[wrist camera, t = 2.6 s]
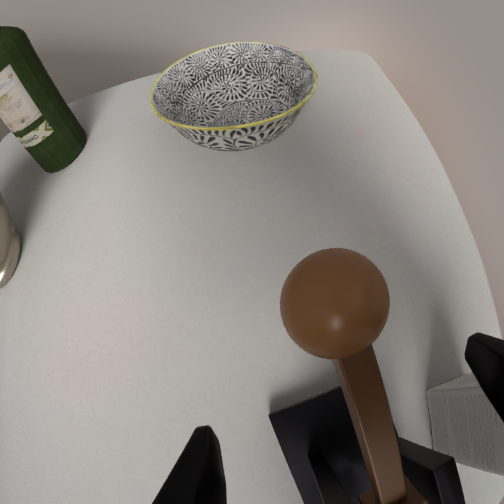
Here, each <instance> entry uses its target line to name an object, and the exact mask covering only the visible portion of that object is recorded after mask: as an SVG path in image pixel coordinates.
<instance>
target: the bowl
mask: <svg viewBox="0 0 504 504" xmlns="http://www.w3.org/2000/svg"><path fill="white" fill-rule="evenodd" d="M317 79H318V78H317V73H316V70H315V68H314V67H313V65H312V64H311V63H310V62H309V61H308V60H307V59H306V58H305V57H304V56H302V55H301V54H299V53H297V52H296V51H293V50H291V49H289V48H286V47H283V46H279V45H276V44H271V43H264V42H232V43H225V44H220V45H215V46H212V47H208V48H205V49H202V50H199V51H196V52H194V53H192V54H189V55H187V56H185V57H184V58H182V59H180V60H178V61H177V62H175V63H174V64H172V65H171V66H170V67H168V68H167V69H166V70H165V71H164V72H163V73H162V74H161V75H160V76H159V77H158V78H157V80H156V81H155V83H154V84H153V86H152V89H151V91H150V97H149V100H150V105H151V108H152V109H153V111H154V112H155V113H156V115H158V116H159V117H160V118H161V119H163V120H164V121H166V122H168V123H169V124H170V125H172V126H173V127H174V128H175V129H176V130H177V131H178V132H179V133H180V134H182V135H183V136H184V137H186V138H187V139H188V140H190V141H192V142H194V143H195V144H198V145H200V146H203V147H205V148H209V149H214V150H221V151H240V150H247V149H250V148H254V147H258V146H260V145H263V144H265V143H268V142H270V141H271V140H273V139H275V138H276V137H278V136H279V135H281V134H282V133H283V132H284V131H285V130H286V129H287V128H289V127H290V125H291V124H292V123H293V122H294V120H295V119H296V118H297V116H298V114H299V113H300V111H301V109H302V107H303V105H304V104H305V102H306V101H307V100H308V99H309V98H310V97H311V96H312V94H313V93H314V91H315V88H316V86H317Z"/></svg>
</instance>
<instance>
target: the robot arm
mask: <svg viewBox="0 0 504 504" xmlns="http://www.w3.org/2000/svg"><path fill="white" fill-rule="evenodd" d="M465 359H466V361H467V363H468V365H469V367H470V368H471V370H472V372H473V374H474V376H475V378H476V379H477V381H478V383H479V385H480V387H481V389H482V390H483V392H484V394H485V395H486V397H487V398H488V400H489V401H490V403H491V404H492V406H493V407H494V409H495V410H496V412H497V413H498V415H499V417H500V418H501V420H502V421H503V423H504V340H502V339H498V338H495V337H492V336H489V335H485V334H482V333H475V334H473V335H471V336H470V337H469V338H468V340H467V345H466V350H465ZM152 504H227V497H226V481H225V475H224V469H223V462H222V456H221V449H220V443H219V440H218V438H217V436H216V435H215V433H214V431H213V430H212V428H211V427H210V426H209V425H206V426H199V427H197V428H196V429H195V430H194V432H193V434H192V436H191V437H190V439H189V441H188V443H187V445H186V446H185V448H184V450H183V452H182V453H181V455H180V457H179V459H178V460H177V462H176V464H175V465H174V467H173V469H172V471H171V472H170V474H169V476H168V478H167V479H166V481H165V483H164V484H163V486H162V488H161V489H160V491H159V493H158V494H157V496H156V498H155V499H154V501H153V503H152Z"/></svg>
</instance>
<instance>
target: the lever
mask: <svg viewBox="0 0 504 504" xmlns="http://www.w3.org/2000/svg"><path fill="white" fill-rule="evenodd" d="M389 308H390V297H389V290H388V287H387V283H386V281H385V278H384V277H383V275H382V273H381V272H380V270H379V269H378V268H377V266H376V265H375V264H374V263H373V262H372V261H370V260H369V259H368V258H367V257H365V256H363V255H362V254H360V253H357V252H355V251H352V250H348V249H342V248H330V249H324V250H320V251H317V252H315V253H313V254H310V255H309V256H307V257H306V258H304V259H303V260H302V261H300V262H299V263H298V264H297V265H296V266H295V267H294V268H293V269H292V271H291V272H290V274H289V275H288V277H287V279H286V281H285V283H284V286H283V288H282V293H281V299H280V311H281V317H282V321H283V324H284V326H285V328H286V331H287V332H288V334H289V336H290V337H291V338H292V340H293V341H294V342H295V343H296V344H297V345H298V346H299V347H300V348H302V349H303V350H305V351H306V352H308V353H310V354H312V355H314V356H317V357H321V358H326V359H332V360H333V363H334V366H335V369H336V372H337V375H338V378H339V381H340V384H341V388H342V391H343V394H344V397H345V400H346V403H347V406H348V409H349V412H350V416H351V419H352V422H353V425H354V428H355V432H356V435H357V438H358V441H359V445H360V448H361V451H362V455H363V458H364V462H365V465H366V469H367V472H368V475H369V479H370V483H371V486H372V489H370V490H368V491H366V492H364V493H361V494H359V495H358V499H359V502H360V504H428V499H427V498H426V497H425V496H424V495H423V494H422V493H421V492H420V491H419V489H418V488H417V487H416V486H415V485H414V484H413V483H412V482H411V480H410V479H409V478H408V477H407V476H406V475H405V474H404V473H403V467H402V462H401V457H400V452H399V447H398V443H397V438H396V434H395V429H394V425H393V421H392V416H391V412H390V408H389V404H388V400H387V396H386V392H385V389H384V385H383V381H382V377H381V374H380V370H379V367H378V363H377V360H376V356H375V353H374V350H373V346H372V343H373V342H374V341H375V340H376V339H377V338H378V336H379V335H380V333H381V332H382V330H383V328H384V326H385V324H386V321H387V318H388V314H389Z"/></svg>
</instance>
